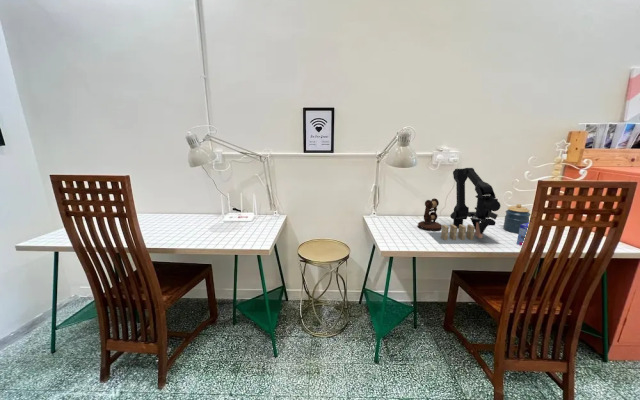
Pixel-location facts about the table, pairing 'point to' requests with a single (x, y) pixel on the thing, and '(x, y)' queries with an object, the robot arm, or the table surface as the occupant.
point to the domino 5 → (478, 231)
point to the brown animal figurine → (430, 216)
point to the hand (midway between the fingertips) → (478, 232)
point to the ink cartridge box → (522, 233)
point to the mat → (476, 240)
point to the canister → (515, 218)
